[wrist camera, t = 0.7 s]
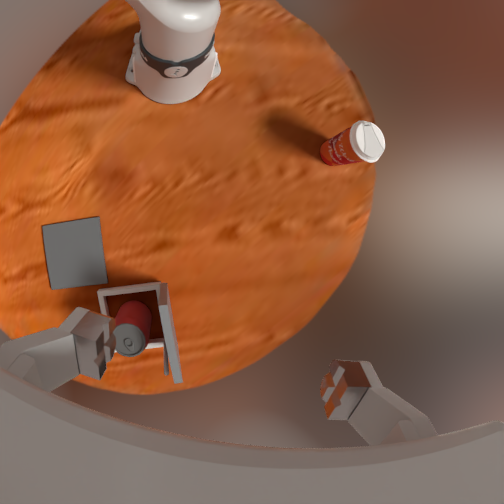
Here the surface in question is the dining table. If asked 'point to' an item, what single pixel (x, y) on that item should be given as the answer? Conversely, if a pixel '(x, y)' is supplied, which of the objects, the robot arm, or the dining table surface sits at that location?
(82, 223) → the rubber mat
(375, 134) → the paper cup
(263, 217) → the dining table surface
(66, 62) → the dining table surface
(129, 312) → the beer can
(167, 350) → the case
